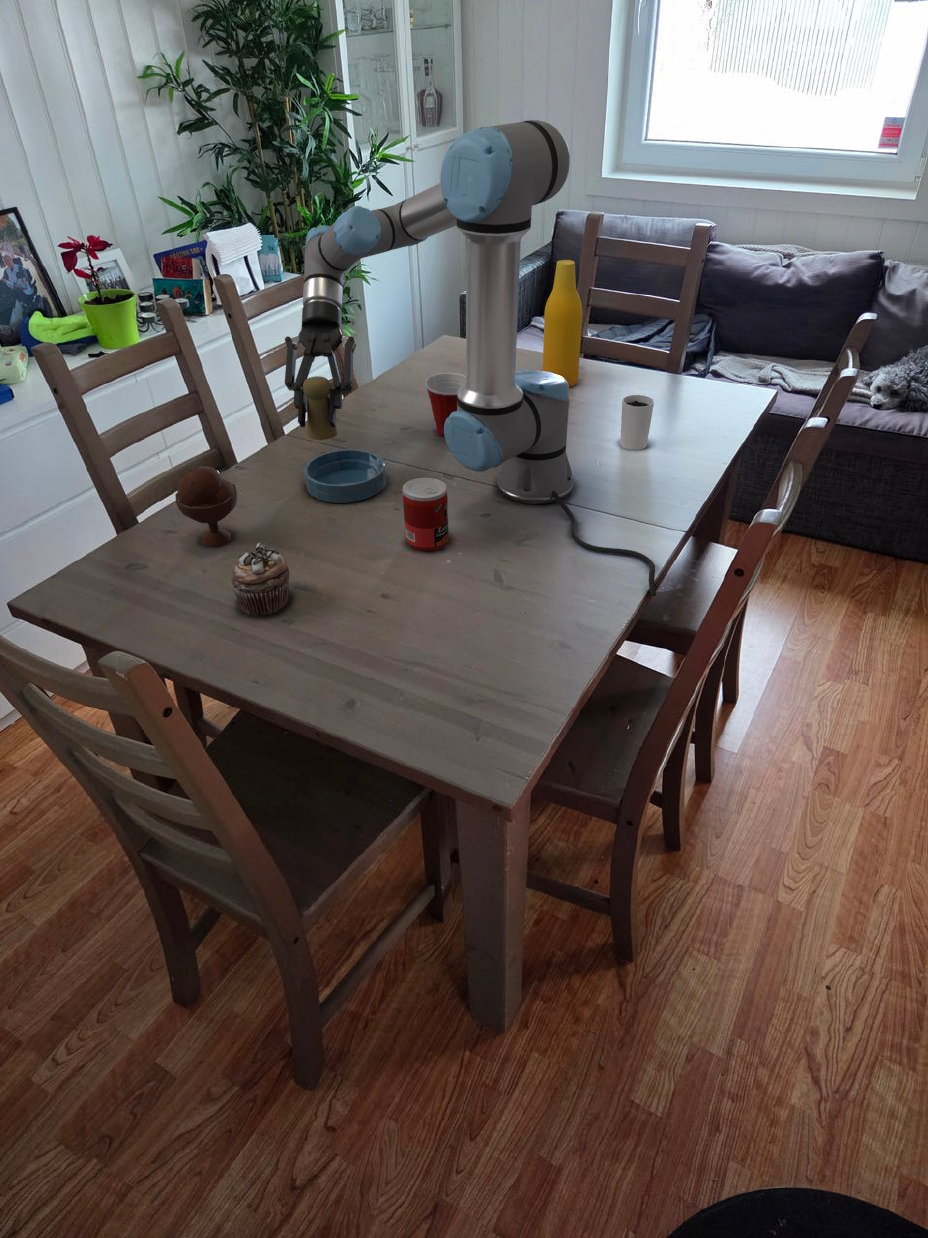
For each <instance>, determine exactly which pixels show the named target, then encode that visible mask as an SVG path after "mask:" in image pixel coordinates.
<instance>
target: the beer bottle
mask: <svg viewBox="0 0 928 1238" xmlns="http://www.w3.org/2000/svg"><path fill="white" fill-rule="evenodd" d="M576 282H577V279H576V262H575V261H574V260H571V259H562V260H558V261H556V267H555V272H554V280H553V286H552V289H551V292H550V295H549V297H548V298H547V301H546V303H545V307H544V316H543V317H544V319H543V320H544V321H543V326H544V327H543V347H542V348H543V349H542V368H541V369H542V370H541V371H545V372H550V373H554V374H557V375H559V376H561V377H563V378H564V379H565V380H566V381H567V383H568V384H569V388H571V387H573V386H575V385H576V384H577V383H578V381H579V376H580V375H579V374H580V371H579V370H580V354H581V338H582V325H583V324H582V321H583V304H582V301H581V298H580V295H579V293H578V290H577V283H576Z"/></svg>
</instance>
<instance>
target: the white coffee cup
mask: <svg viewBox="0 0 928 1238" xmlns="http://www.w3.org/2000/svg"><path fill="white" fill-rule="evenodd" d="M654 405H655V400H654V399H653V398H652V397H651V396H647V395H643V394H629V395H626V396H624V397H623V398H622V401H621V417H620V418H621V420H620V421H621V422H620V441H619V444H620V446H621V447H622V448H623V449H626V450H631V451H640V450H643V449H645V448H646V447H647V445H648V440H649V434H650V429H651V424H652V423H651V422H652V416H653V411H654Z"/></svg>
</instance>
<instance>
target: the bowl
mask: <svg viewBox="0 0 928 1238" xmlns="http://www.w3.org/2000/svg"><path fill="white" fill-rule="evenodd" d="M303 471H304V479H305V480H304V481H305V487H306V491H307V492H308V493H309V495H310V496H311V497H313V498H316V499H317V500H319V501H323V502H326V503H327V502H328V503H337V504H346V503H355V502H359V501H363V500H367V499H370V498H372V497H374V496H376V495H378V494H379V493H380V492H381V491H382V490H384V488H385V487H386V485H387V472H386V471H387V470H386V463H385V460H384V459H383V458H382V457H381V456H380V455H379V454H376V453H375V452H372V451H369V450H364V449H356V448H355V449H353V448H352V449H351V448H348V449H336V450H332V451H328V452H324V453H322V454H319V455H317V456H315V457H313V458H312V459H310V460H309V461H308V462H307V463H306V464H305V466H304V468H303Z"/></svg>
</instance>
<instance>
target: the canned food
mask: <svg viewBox="0 0 928 1238" xmlns="http://www.w3.org/2000/svg"><path fill="white" fill-rule="evenodd" d="M447 486H448V485H447V484H446V483H445V482H444V481H442V480H440V479H438V478H433V477H418V478H413V479H410V480H408V481H407V482H405V483H404V484H403V485H402V506H403V519H404V531H405V540H406V543H407V544H408V545H409V546H410V547H411V548H413V549H415V550H418V551H421V552H422V551H423V552H430V551H436V550H440V549H442V548H444V547H445V546H446V545H447V544H448V540H449V538H450V537H449V536H450V535H449V503H448V501H449V500H448V499H449V498H448V487H447Z"/></svg>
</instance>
